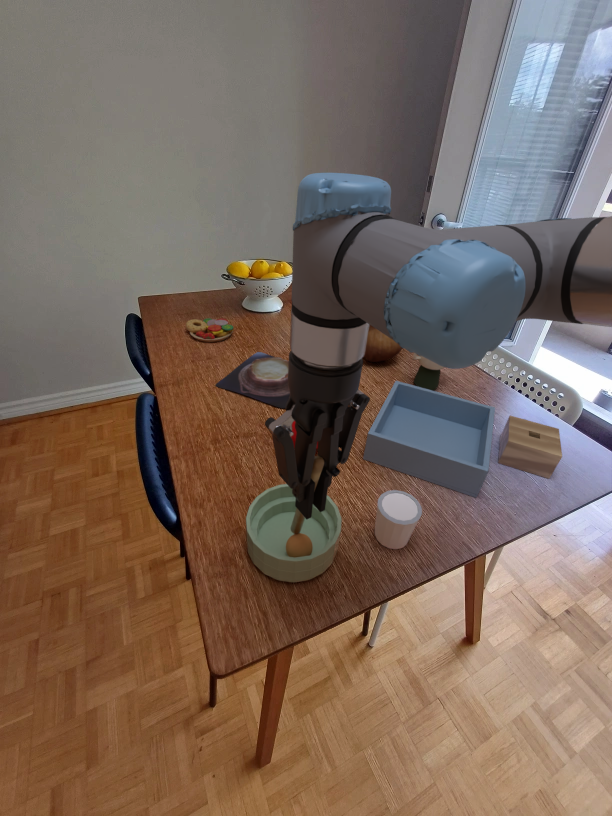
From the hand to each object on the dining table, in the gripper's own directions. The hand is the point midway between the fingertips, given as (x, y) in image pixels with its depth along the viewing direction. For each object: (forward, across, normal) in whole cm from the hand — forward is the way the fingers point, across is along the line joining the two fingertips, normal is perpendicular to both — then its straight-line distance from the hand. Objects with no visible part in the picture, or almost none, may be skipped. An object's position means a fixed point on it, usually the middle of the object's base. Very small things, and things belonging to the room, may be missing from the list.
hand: (310, 507), depth 54 cm
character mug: (+12, -56, -24) cm, 63 cm away
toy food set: (+13, -21, -79) cm, 83 cm away
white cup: (+12, -15, +4) cm, 20 cm away
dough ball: (+9, +1, -1) cm, 9 cm away
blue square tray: (+12, -38, -8) cm, 41 cm away
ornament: (+12, -15, -21) cm, 29 cm away
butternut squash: (+13, -55, -42) cm, 71 cm away
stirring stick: (+8, 0, -3) cm, 9 cm away
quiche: (+13, -23, -48) cm, 55 cm away
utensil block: (+12, -53, +6) cm, 54 cm away
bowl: (+12, 0, -4) cm, 13 cm away
